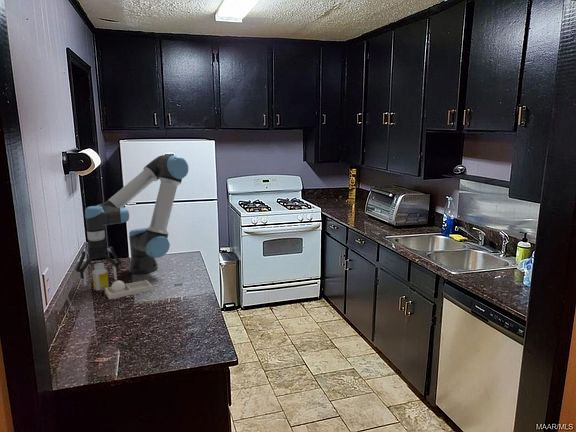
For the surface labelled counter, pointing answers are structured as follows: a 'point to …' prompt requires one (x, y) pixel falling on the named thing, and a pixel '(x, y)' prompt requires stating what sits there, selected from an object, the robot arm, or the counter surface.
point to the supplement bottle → (100, 277)
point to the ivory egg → (118, 286)
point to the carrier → (130, 289)
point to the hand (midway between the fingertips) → (100, 282)
